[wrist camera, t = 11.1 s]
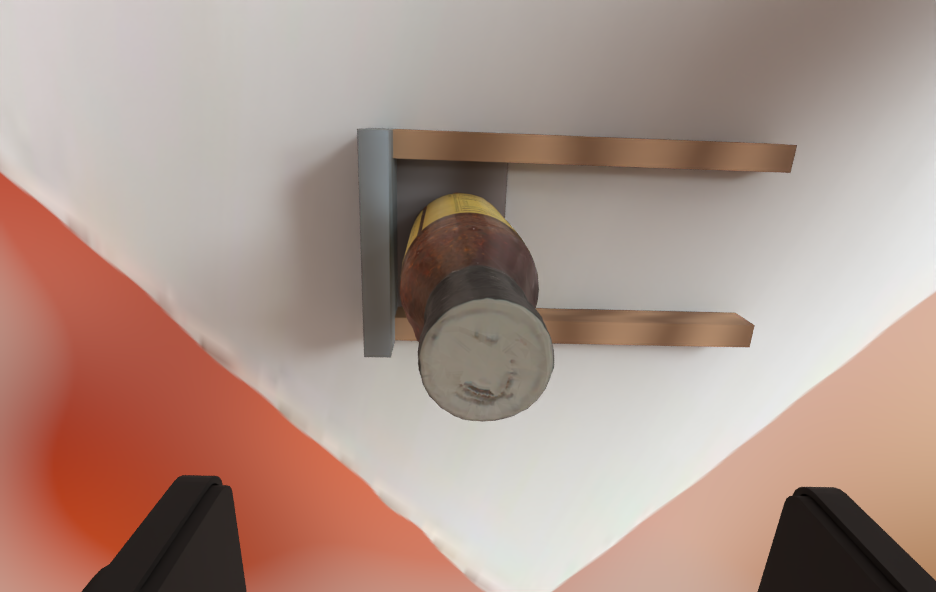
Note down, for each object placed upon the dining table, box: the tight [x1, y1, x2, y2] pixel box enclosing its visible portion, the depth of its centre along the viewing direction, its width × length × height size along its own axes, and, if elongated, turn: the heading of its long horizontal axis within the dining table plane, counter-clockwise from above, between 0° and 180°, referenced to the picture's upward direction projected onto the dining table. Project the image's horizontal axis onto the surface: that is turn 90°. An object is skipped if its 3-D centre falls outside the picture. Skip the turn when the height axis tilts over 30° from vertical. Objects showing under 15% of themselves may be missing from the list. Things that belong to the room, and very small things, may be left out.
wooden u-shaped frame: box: [357, 128, 797, 357], centre depth 32 cm, size 26×13×5 cm, turn 88°
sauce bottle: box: [400, 193, 554, 421], centre depth 24 cm, size 7×6×20 cm
